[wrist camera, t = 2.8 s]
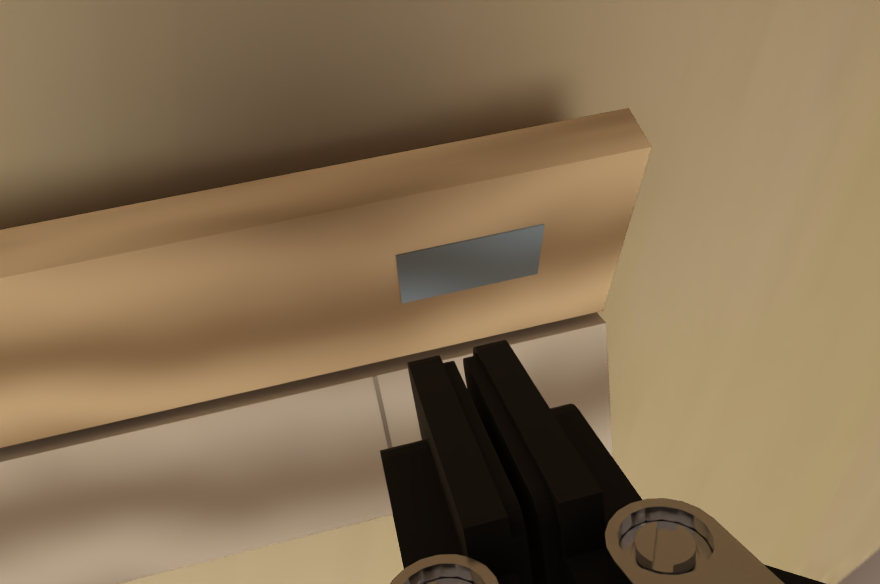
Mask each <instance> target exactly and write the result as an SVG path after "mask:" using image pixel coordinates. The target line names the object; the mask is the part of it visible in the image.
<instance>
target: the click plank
mask: <svg viewBox="0 0 880 584" xmlns="http://www.w3.org/2000/svg"><path fill="white" fill-rule="evenodd" d="M651 148H652V146H651V145H650V143H649V141H648V140H647V138H646V136H645V135H644V133H643V131H642V130H641V128H640V126H639V125H638V123H637V121H636V120H635V118H634V116H633V115H632V113H631V111H630V110H629V108H627V109H621V110H616V111H611V112H606V113H601V114H596V115H590V116H585V117H580V118H575V119H570V120H565V121H559V122H554V123H549V124H544V125H539V126H534V127H528V128H523V129H518V130H513V131H508V132H503V133H498V134H492V135H487V136H482V137H477V138H472V139H467V140H461V141H456V142H451V143H446V144H441V145H436V146H430V147H425V148H420V149H415V150H410V151H405V152H399V153H394V154H389V155H384V156H379V157H374V158H369V159H363V160H358V161H353V162H348V163H343V164H338V165H332V166H327V167H322V168H317V169H312V170H307V171H301V172H296V173H291V174H286V175H281V176H276V177H270V178H265V179H260V180H255V181H250V182H245V183H240V184H234V185H229V186H224V187H219V188H214V189H209V190H203V191H198V192H193V193H188V194H183V195H178V196H172V197H167V198H162V199H157V200H152V201H147V202H142V203H136V204H131V205H126V206H121V207H116V208H111V209H105V210H100V211H95V212H90V213H85V214H80V215H74V216H69V217H64V218H59V219H54V220H49V221H43V222H38V223H33V224H28V225H23V226H18V227H13V228H7V229H2V230H0V448H2V447H7V446H11V445H15V444H20V443H24V442H29V441H33V440H37V439H42V438H46V437H51V436H55V435H59V434H64V433H68V432H73V431H77V430H81V429H86V428H90V427H94V426H99V425H103V424H108V423H112V422H116V421H121V420H125V419H130V418H134V417H138V416H143V415H147V414H152V413H156V412H160V411H165V410H169V409H174V408H178V407H182V406H187V405H191V404H195V403H200V402H204V401H209V400H213V399H217V398H222V397H226V396H231V395H235V394H239V393H244V392H248V391H253V390H257V389H261V388H266V387H270V386H274V385H279V384H283V383H288V382H292V381H296V380H301V379H305V378H310V377H314V376H318V375H323V374H327V373H332V372H336V371H340V370H345V369H349V368H354V367H358V366H362V365H367V364H371V363H375V362H380V361H384V360H389V359H393V358H397V357H402V356H406V355H411V354H415V353H419V352H424V351H428V350H433V349H437V348H441V347H446V346H450V345H455V344H459V343H463V342H468V341H472V340H476V339H481V338H485V337H490V336H494V335H498V334H503V333H507V332H512V331H516V330H520V329H525V328H529V327H534V326H538V325H542V324H547V323H551V322H556V321H560V320H564V319H569V318H573V317H577V316H582V315H586V314H591V313H595V312H599V311H603V310H604V306H605V303H606V300H607V296H608V293H609V290H610V286H611V283H612V279H613V276H614V273H615V269H616V266H617V263H618V259H619V256H620V252H621V249H622V246H623V242H624V239H625V236H626V232H627V229H628V225H629V222H630V219H631V215H632V212H633V209H634V205H635V202H636V199H637V195H638V192H639V188H640V185H641V182H642V178H643V175H644V172H645V168H646V165H647V161H648V158H649V155H650V151H651Z"/></svg>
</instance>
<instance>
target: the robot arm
mask: <svg viewBox="0 0 880 584" xmlns="http://www.w3.org/2000/svg"><path fill="white" fill-rule="evenodd" d="M407 365H408V372H409V377H410V382H411V387H412V392H413V397H414V403H415V408H416V413H417V418H418V423H419V428H420V433H421V439H422V440H420V441H416V442H412V443H408V444H404V445H400V446H396V447H392V448H388V449H384V450H380V454H381V459H382V464H383V469H384V474H385V479H386V484H387V489H388V494H389V498H390V503H391V508H392V513H393V518H394V523H395V528H396V532H397V537H398V542H399V547H400V552H401V557H402V562H403V566H404V570H402V571H401V572H400V573H399V574H398V575H397V576H396V577H395V578H394V579H393V580H392V582H391V583H390V584H825V583H822V582H819V581H815V580H812V579H809V578H806V577H803V576H799V575H796V574H793V573H790V572H786V571H783V570H780V569H777V568H773V567H770V566H767V565H764V564H763V563H761V562H760V561H759V560H758V559H757V558H756V557H755V556H754V555H753V554H752V553H751V552H750V551H749V550H747V549H746V548H745V547H744V546H743V545H742V544H741V543H740V542H739V541H738V540H737V539H736V538H734V537H733V536H732V535H731V534H730V533H729V532H728V531H727V530H726V529H725V528H724V527H723V526H721V525H720V524H719V523H718V522H717V521H716V520H715V519H714V518H713V517H711V516H710V515H708V514H707V513H706V512H704V511H703V510H701V509H700V508H698V507H695V506H693V505H690V504H688V503H685V502H683V501H677V500H672V499H666V498H657V499H644V500H642V499H641V497H640V496H639V494H638V493H637V492H636V490H635V489H634V487H633V486H632V485H631V483H630V482H629V480H628V479H627V477H626V476H625V475H624V473H623V472H622V470H621V469H620V467H619V466H618V465H617V463H616V462H615V460H614V459H613V457H612V456H611V455H610V453H609V452H608V450H607V449H606V447H605V446H604V445H603V443H602V442H601V440H600V439H599V438H598V436H597V435H596V433H595V432H594V430H593V429H592V428H591V426H590V425H589V423H588V422H587V420H586V419H585V418H584V416H583V415H582V413H581V412H580V410H579V409H578V408H577V407H576V406H575V405H574V404H571V403H570V404H566V405H562V406H558V407H554V408H549V406H548V405H547V403H546V401H545V400H544V398H543V397H542V395H541V394H540V392H539V390H538V389H537V387H536V386H535V384H534V383H533V381H532V379H531V378H530V376H529V375H528V373H527V371H526V370H525V368H524V367H523V365H522V364H521V362H520V360H519V359H518V357H517V356H516V354H515V353H514V351H513V349H512V348H511V346H510V345H509V343H508V342H507V341H506V340H502V341H497V342H493V343H489V344H484V345H480V346H476V347H474V348H473V356H471V357H467V358H463V366H464V373H465V379H466V385H465V383H464V381H463V379H462V377H461V374H460V372H459V370H458V368H457V366H456V363H455V362H454V361H449V362H445V363H443V362H442V359H441V357H440V355H437V356H433V357H429V358H424V359H420V360H416V361H411V362H407ZM466 386H467V388H466Z"/></svg>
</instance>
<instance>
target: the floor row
mask: <svg viewBox="0 0 880 584" xmlns="http://www.w3.org/2000/svg"><path fill="white" fill-rule="evenodd" d="M502 340H506V341H507V342H508V343H509V345H510V346H511V348H512V349H513V351H514V353H515V354H516V356H517V357H518V359H519V360H520V362H521V364H522V365H523V367H524V368H525V370H526V371H527V373H528V375H529V376H530V378H531V379H532V381H533V383H534V384H535V386H536V387H537V389H538V390H539V392H540V394H541V395H542V397H543V398H544V400H545V401H546V403H547V405H548V406H549V408H554V407H558V406H562V405H566V404H570V403H571V404H574V405H575V406H576V407H577V408H578V409H579V410H580V412H581V413H582V415H583V416H584V418H585V419H586V420H587V422H588V423H589V425H590V426H591V428H592V429H593V430H594V432H595V433H596V435H597V436H598V438H599V439H600V440H601V442H602V443H603V445H604V446H605V447H606V449H607V450H608V452H609V453H610V455H611V456H612V435H611V414H610V394H609V373H608V352H607V331H606V322H605V321H604V320H603V319H602V318H601V317H600V316H599V315H598V313H597V312H595V313H591V314H586V315H582V316H577V317H573V318H569V319H564V320H560V321H556V322H551V323H547V324H542V325H538V326H534V327H529V328H525V329H520V330H516V331H512V332H507V333H503V334H498V335H494V336H490V337H485V338H481V339H476V340H472V341H468V342H463V343H459V344H455V345H450V346H446V347H441V348H437V349H433V350H428V351H424V352H419V353H415V354H411V355H406V356H402V357H397V358H393V359H389V360H384V361H380V362H375V363H371V364H367V365H362V366H358V367H354V368H349V369H345V370H340V371H336V372H332V373H327V374H323V375H318V376H314V377H310V378H305V379H301V380H296V381H292V382H288V383H283V384H279V385H274V386H270V387H266V388H261V389H257V390H253V391H248V392H244V393H239V394H235V395H231V396H226V397H222V398H217V399H213V400H209V401H204V402H200V403H195V404H191V405H187V406H182V407H178V408H174V409H169V410H165V411H160V412H156V413H152V414H147V415H143V416H138V417H134V418H130V419H125V420H121V421H116V422H112V423H108V424H103V425H99V426H94V427H90V428H86V429H81V430H77V431H73V432H68V433H64V434H59V435H55V436H51V437H46V438H42V439H37V440H33V441H29V442H24V443H20V444H15V445H11V446H7V447H2V448H0V584H120V583H124V582H128V581H132V580H136V579H139V578H143V577H147V576H151V575H155V574H159V573H163V572H167V571H171V570H175V569H179V568H183V567H187V566H191V565H195V564H199V563H203V562H207V561H210V560H214V559H218V558H222V557H226V556H230V555H234V554H238V553H242V552H246V551H250V550H254V549H258V548H262V547H266V546H270V545H274V544H278V543H281V542H285V541H289V540H293V539H297V538H301V537H305V536H309V535H313V534H317V533H321V532H325V531H329V530H333V529H337V528H341V527H345V526H349V525H352V524H356V523H360V522H364V521H368V520H372V519H376V518H380V517H384V516H388V515H392V514H393V513H392V508H391V503H390V498H389V494H388V489H387V484H386V479H385V474H384V469H383V464H382V459H381V454H380V450H384V449H388V448H392V447H396V446H400V445H404V444H408V443H412V442H416V441H420V440H422V439H421V433H420V428H419V423H418V418H417V413H416V408H415V403H414V397H413V392H412V387H411V382H410V377H409V372H408V365H407V362H411V361H416V360H420V359H424V358H429V357H433V356H437V355H440V357H441V359H442V362H443V363H445V362H449V361H454V362H455V363H456V366H457V368H458V370H459V372H460V374H461V377H462V379H463V381H464V383H465V385H466V379H465V373H464V366H463V358H467V357H471V356H473V348H474V347H476V346H480V345H484V344H489V343H493V342H497V341H502ZM466 388H467V386H466ZM612 457H613V456H612Z"/></svg>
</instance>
